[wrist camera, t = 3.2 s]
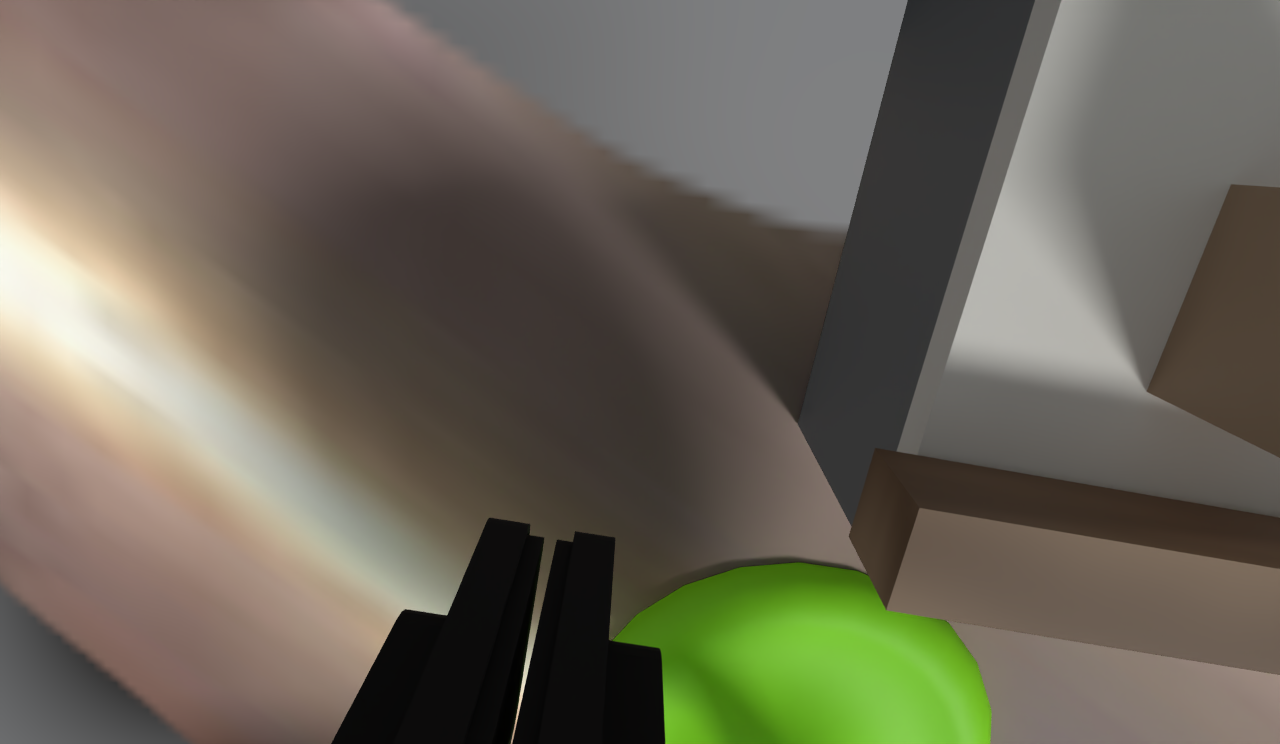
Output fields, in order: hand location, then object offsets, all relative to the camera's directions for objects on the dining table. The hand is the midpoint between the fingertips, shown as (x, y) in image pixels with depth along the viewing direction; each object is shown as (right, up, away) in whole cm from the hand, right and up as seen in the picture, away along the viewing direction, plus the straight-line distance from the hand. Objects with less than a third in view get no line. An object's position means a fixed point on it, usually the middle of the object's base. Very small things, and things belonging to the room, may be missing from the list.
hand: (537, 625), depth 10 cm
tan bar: (+14, 0, +5) cm, 15 cm away
